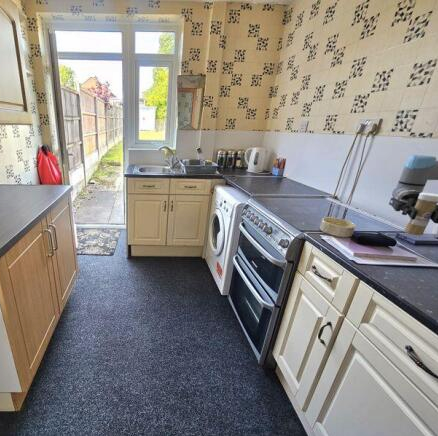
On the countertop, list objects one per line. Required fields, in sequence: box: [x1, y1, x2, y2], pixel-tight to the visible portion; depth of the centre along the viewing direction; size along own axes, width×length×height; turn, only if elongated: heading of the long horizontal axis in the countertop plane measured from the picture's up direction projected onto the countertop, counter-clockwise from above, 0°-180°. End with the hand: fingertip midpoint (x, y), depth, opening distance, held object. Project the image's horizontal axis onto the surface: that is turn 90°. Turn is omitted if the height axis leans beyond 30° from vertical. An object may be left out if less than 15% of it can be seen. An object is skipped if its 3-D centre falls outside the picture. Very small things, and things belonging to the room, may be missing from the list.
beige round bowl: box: [319, 216, 357, 238], centre depth 111 cm, size 12×12×5 cm
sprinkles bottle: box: [403, 192, 438, 237], centre depth 79 cm, size 5×5×14 cm
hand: (426, 217), depth 75 cm, fingers closed on sprinkles bottle, 4 cm apart
